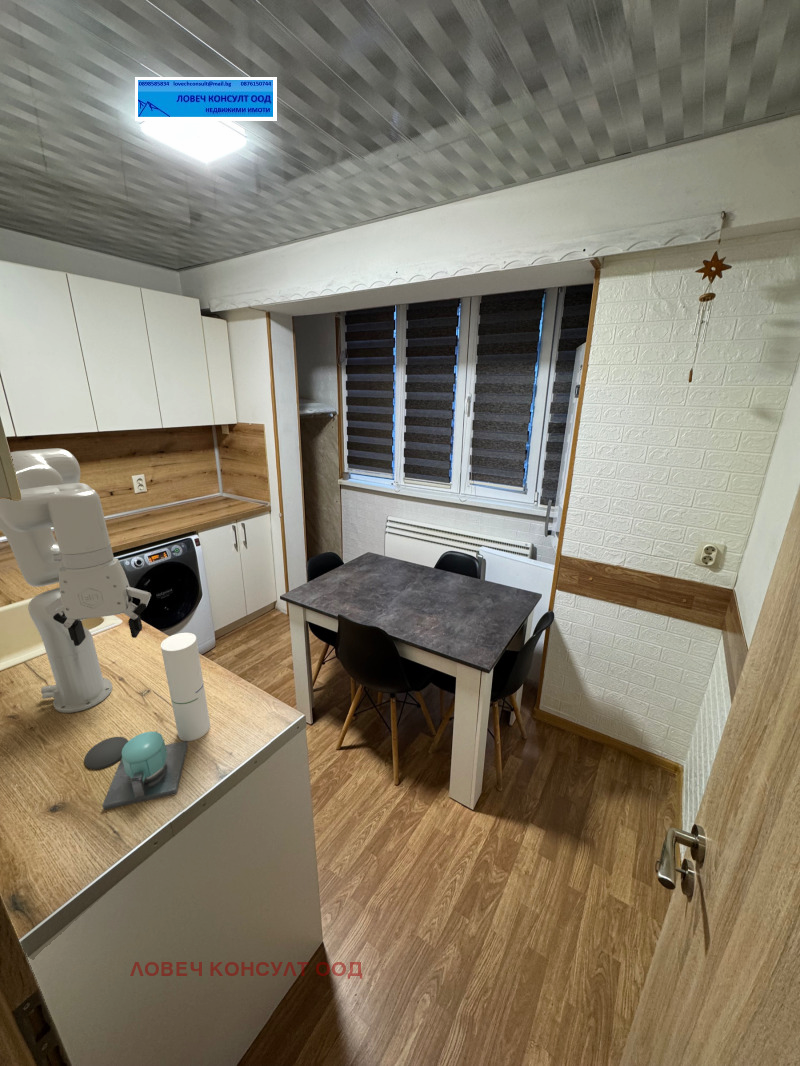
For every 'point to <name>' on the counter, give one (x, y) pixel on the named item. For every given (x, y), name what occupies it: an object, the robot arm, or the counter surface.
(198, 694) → the cylindrical container
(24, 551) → the robot arm
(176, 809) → the counter surface
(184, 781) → the counter surface
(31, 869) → the counter surface
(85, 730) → the counter surface
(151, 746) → the cap
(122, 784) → the grey square base plate
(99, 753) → the coaster
